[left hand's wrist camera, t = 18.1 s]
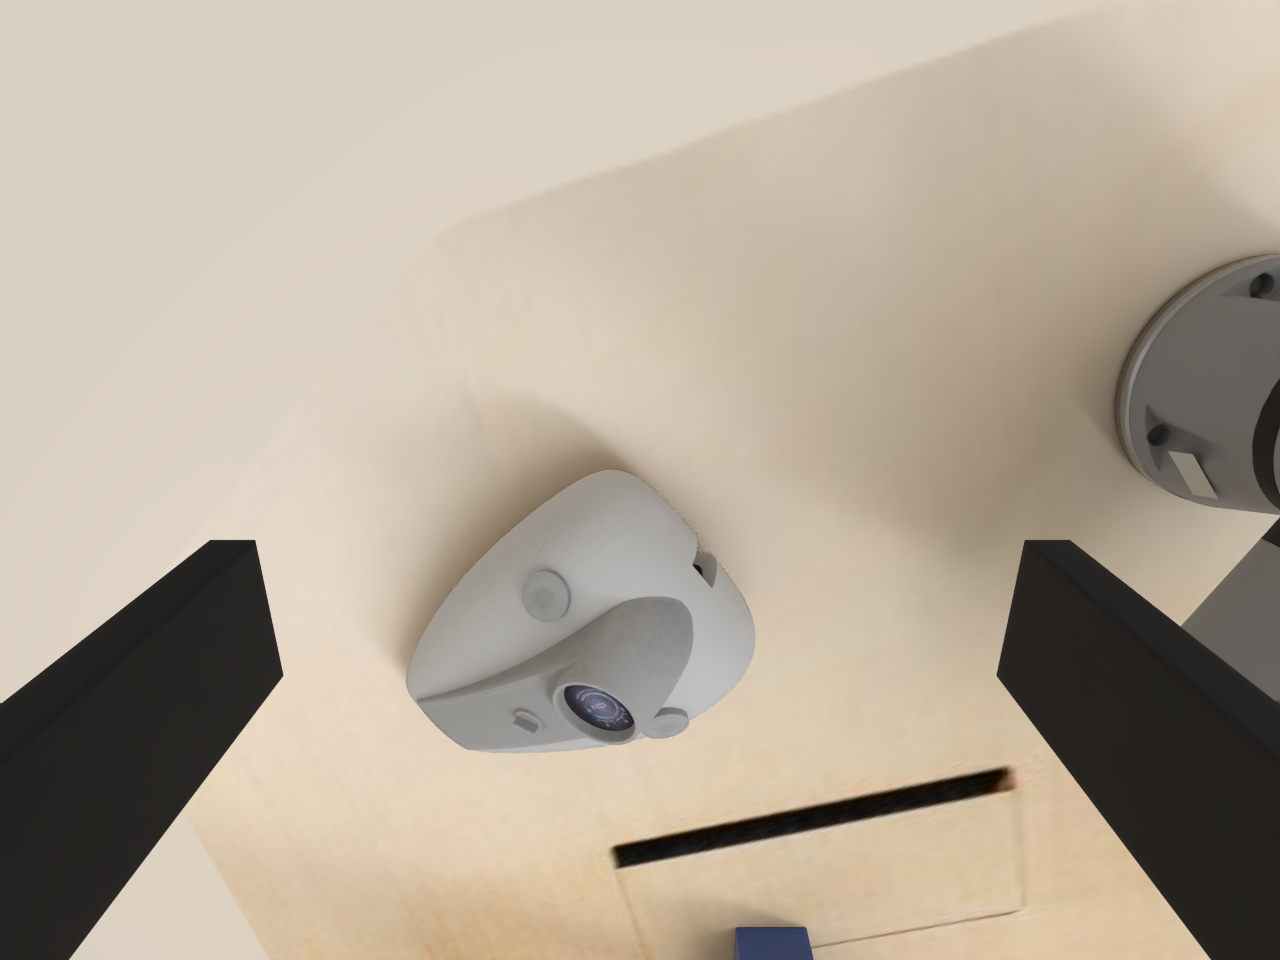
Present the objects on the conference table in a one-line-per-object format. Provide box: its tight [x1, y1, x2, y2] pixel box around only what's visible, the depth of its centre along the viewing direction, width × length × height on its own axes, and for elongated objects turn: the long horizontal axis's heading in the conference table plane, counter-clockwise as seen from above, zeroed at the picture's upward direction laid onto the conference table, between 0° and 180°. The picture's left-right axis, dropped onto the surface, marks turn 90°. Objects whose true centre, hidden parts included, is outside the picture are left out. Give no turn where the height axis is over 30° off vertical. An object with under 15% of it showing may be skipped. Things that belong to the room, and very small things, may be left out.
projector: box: [406, 470, 755, 753], centre depth 43 cm, size 22×23×15 cm
